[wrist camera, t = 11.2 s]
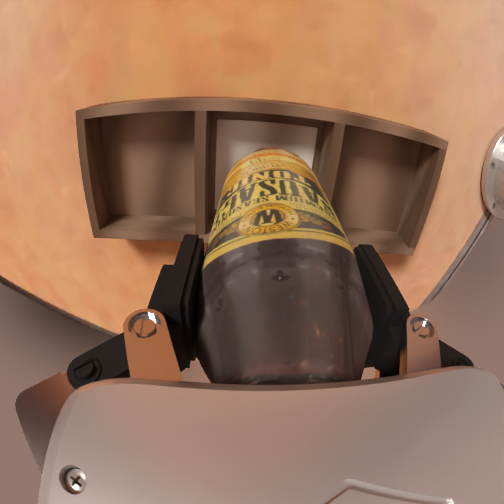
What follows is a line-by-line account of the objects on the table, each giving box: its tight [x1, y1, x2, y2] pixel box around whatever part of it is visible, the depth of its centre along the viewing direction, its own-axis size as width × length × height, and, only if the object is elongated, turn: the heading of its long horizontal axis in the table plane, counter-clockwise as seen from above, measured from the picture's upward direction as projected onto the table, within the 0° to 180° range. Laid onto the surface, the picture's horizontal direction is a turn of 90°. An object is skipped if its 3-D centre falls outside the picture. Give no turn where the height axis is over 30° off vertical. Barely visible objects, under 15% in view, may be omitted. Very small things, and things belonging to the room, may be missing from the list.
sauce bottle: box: [195, 147, 373, 385], centre depth 11 cm, size 7×6×20 cm
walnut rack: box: [76, 97, 448, 255], centre depth 22 cm, size 30×12×4 cm, turn 86°
